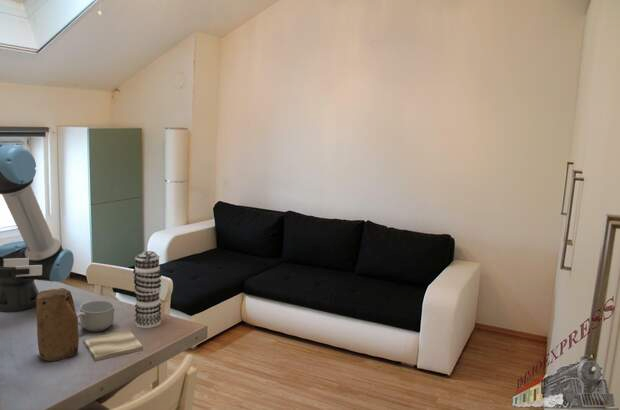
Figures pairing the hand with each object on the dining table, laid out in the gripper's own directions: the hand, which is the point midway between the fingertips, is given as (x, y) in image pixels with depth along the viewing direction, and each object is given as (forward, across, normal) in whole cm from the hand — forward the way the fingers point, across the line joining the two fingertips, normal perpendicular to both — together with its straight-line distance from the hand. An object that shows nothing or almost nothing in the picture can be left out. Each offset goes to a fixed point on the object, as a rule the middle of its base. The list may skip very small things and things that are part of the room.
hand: (35, 266), depth 149 cm
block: (+8, 0, -27) cm, 28 cm away
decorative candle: (+38, -6, -23) cm, 45 cm away
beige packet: (+22, +4, -26) cm, 34 cm away
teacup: (+22, -12, -24) cm, 35 cm away
